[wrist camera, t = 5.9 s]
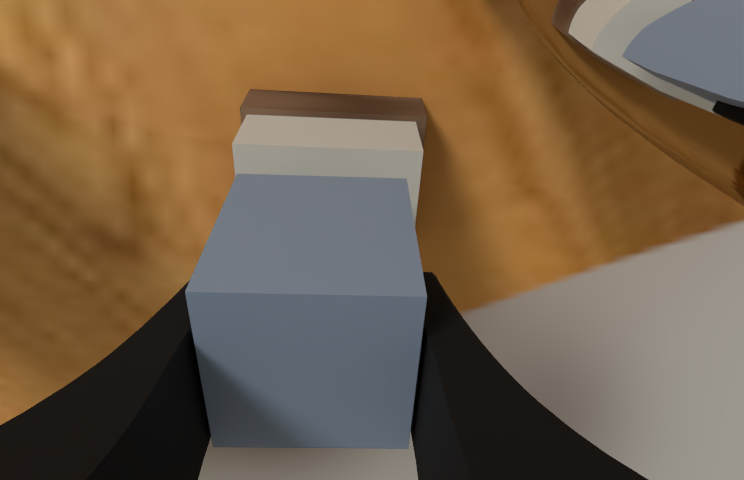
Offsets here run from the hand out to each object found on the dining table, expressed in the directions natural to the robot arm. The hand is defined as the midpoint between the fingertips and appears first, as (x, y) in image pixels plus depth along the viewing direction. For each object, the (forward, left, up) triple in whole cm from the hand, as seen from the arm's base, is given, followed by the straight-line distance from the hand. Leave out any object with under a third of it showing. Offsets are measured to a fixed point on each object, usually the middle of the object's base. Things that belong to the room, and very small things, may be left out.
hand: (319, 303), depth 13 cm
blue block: (0, +1, -2) cm, 2 cm away
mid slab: (0, 0, -6) cm, 6 cm away
